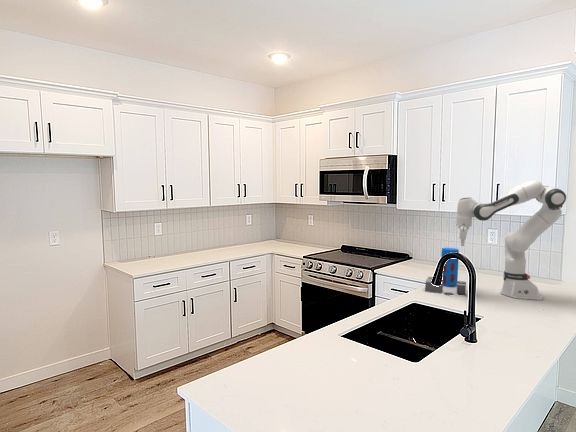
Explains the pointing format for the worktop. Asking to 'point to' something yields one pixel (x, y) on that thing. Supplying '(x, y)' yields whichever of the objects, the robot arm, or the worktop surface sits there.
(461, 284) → the lens
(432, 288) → the camera body
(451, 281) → the blue red-spotted block
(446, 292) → the lens cap
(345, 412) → the worktop surface
